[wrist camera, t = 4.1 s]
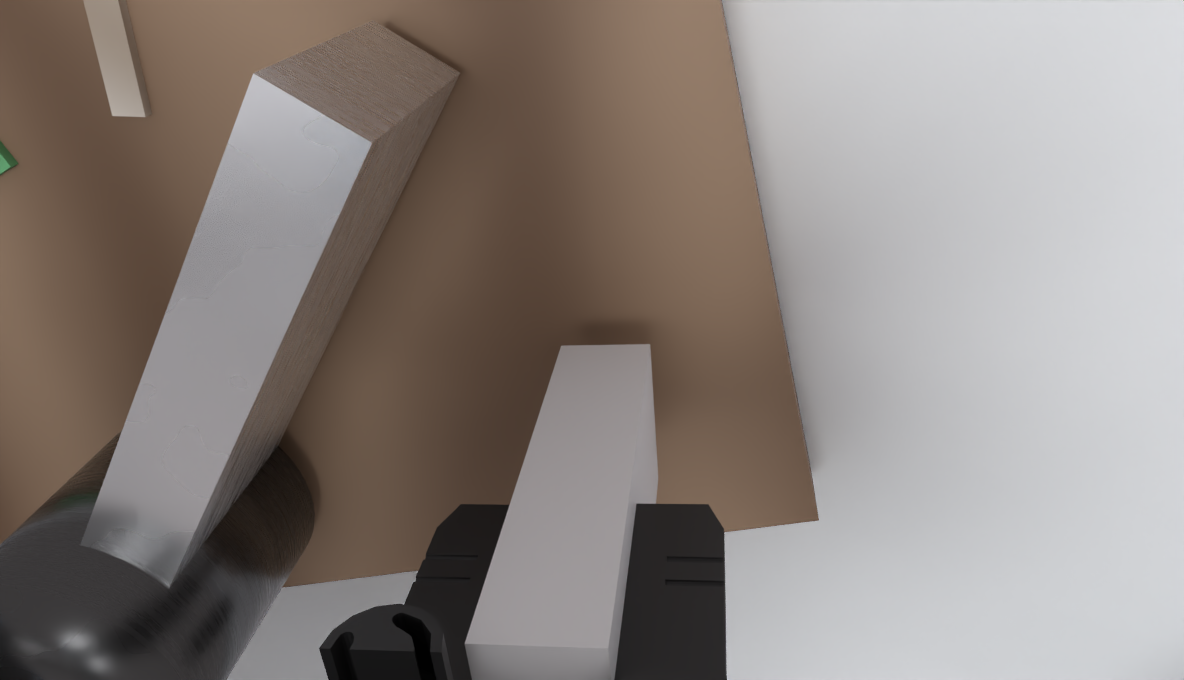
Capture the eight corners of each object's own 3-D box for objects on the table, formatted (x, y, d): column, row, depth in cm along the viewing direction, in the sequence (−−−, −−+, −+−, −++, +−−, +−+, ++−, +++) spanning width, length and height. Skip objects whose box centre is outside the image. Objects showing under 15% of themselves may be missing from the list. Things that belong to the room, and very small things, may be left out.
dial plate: (-84, 597, 24) (-136, 645, 23) (-477, 88, 18) (-583, 108, 17) (811, 474, 19) (819, 527, 17) (663, -306, 13) (656, -329, 11)
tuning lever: (273, 607, 20) (147, 817, 15) (87, 515, 19) (-100, 706, 15) (541, 122, 14) (460, 238, 10) (287, -32, 13) (76, 16, 9)
